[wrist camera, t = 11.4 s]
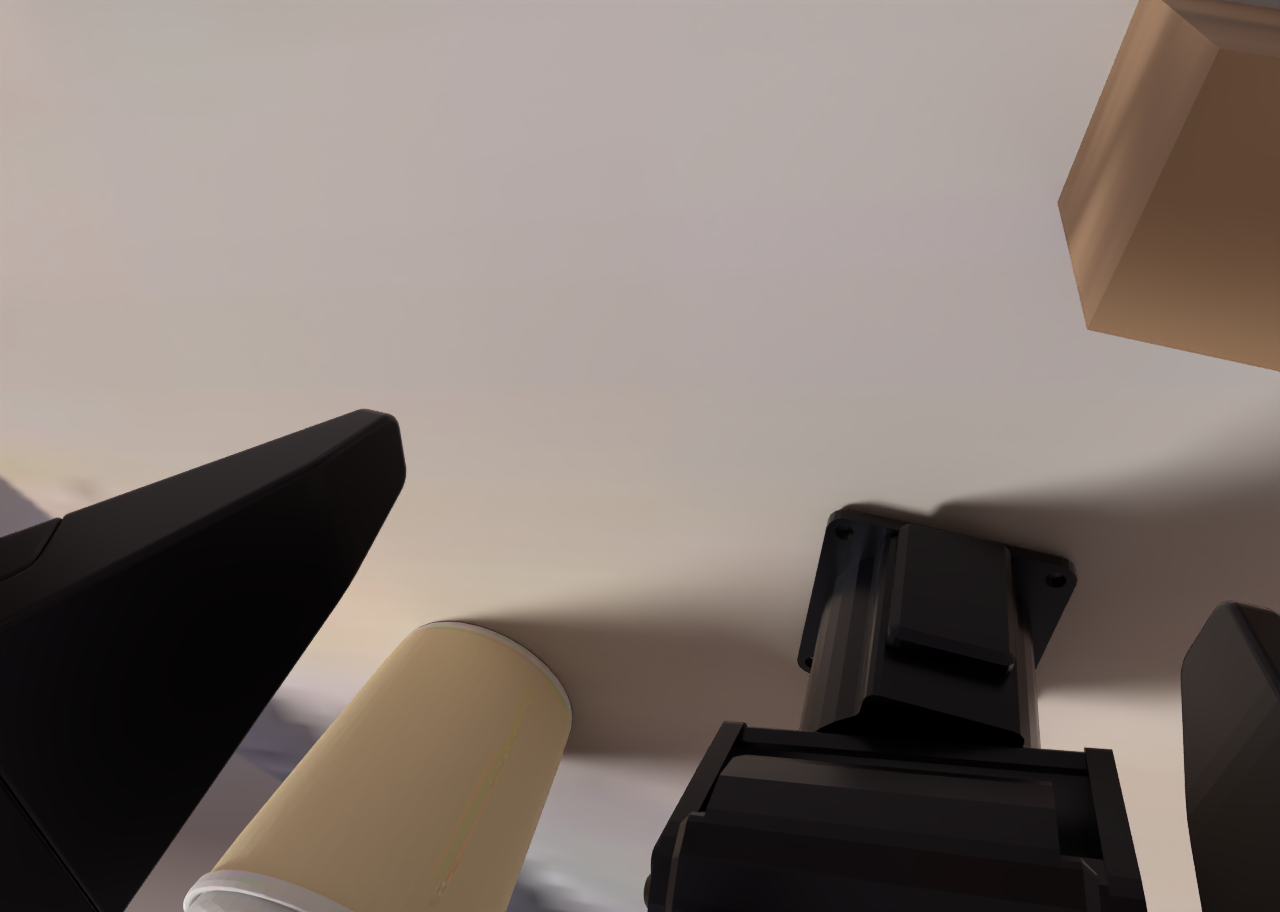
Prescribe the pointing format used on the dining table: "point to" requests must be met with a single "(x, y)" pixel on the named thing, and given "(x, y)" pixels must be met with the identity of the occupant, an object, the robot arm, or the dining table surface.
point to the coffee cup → (409, 789)
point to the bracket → (1184, 184)
